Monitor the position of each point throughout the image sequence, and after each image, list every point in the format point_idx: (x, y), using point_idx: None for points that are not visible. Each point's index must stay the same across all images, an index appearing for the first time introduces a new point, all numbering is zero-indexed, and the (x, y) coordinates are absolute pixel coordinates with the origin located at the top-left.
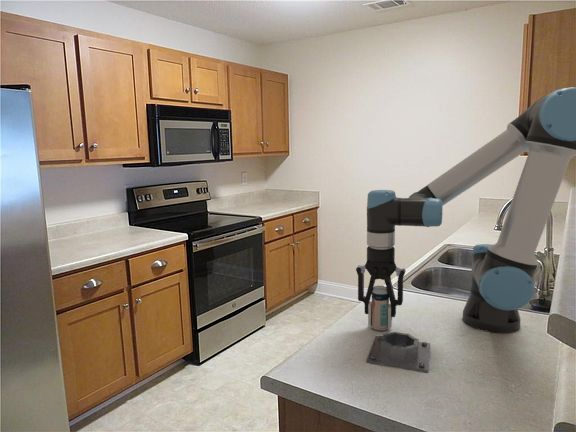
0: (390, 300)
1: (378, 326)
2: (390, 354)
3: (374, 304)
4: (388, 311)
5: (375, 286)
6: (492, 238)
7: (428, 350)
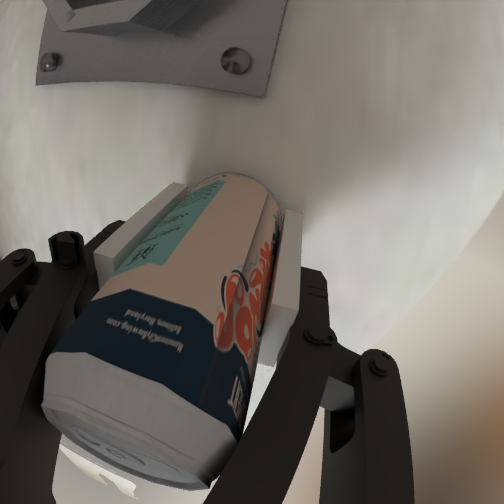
0: (61, 293)
1: (237, 183)
2: None
3: (232, 288)
4: (130, 234)
5: (188, 486)
6: (103, 473)
7: (46, 22)
